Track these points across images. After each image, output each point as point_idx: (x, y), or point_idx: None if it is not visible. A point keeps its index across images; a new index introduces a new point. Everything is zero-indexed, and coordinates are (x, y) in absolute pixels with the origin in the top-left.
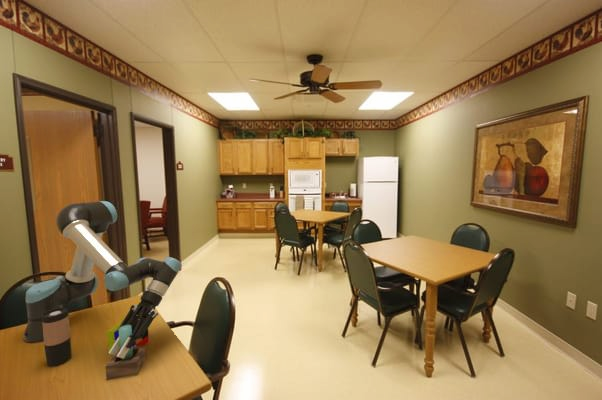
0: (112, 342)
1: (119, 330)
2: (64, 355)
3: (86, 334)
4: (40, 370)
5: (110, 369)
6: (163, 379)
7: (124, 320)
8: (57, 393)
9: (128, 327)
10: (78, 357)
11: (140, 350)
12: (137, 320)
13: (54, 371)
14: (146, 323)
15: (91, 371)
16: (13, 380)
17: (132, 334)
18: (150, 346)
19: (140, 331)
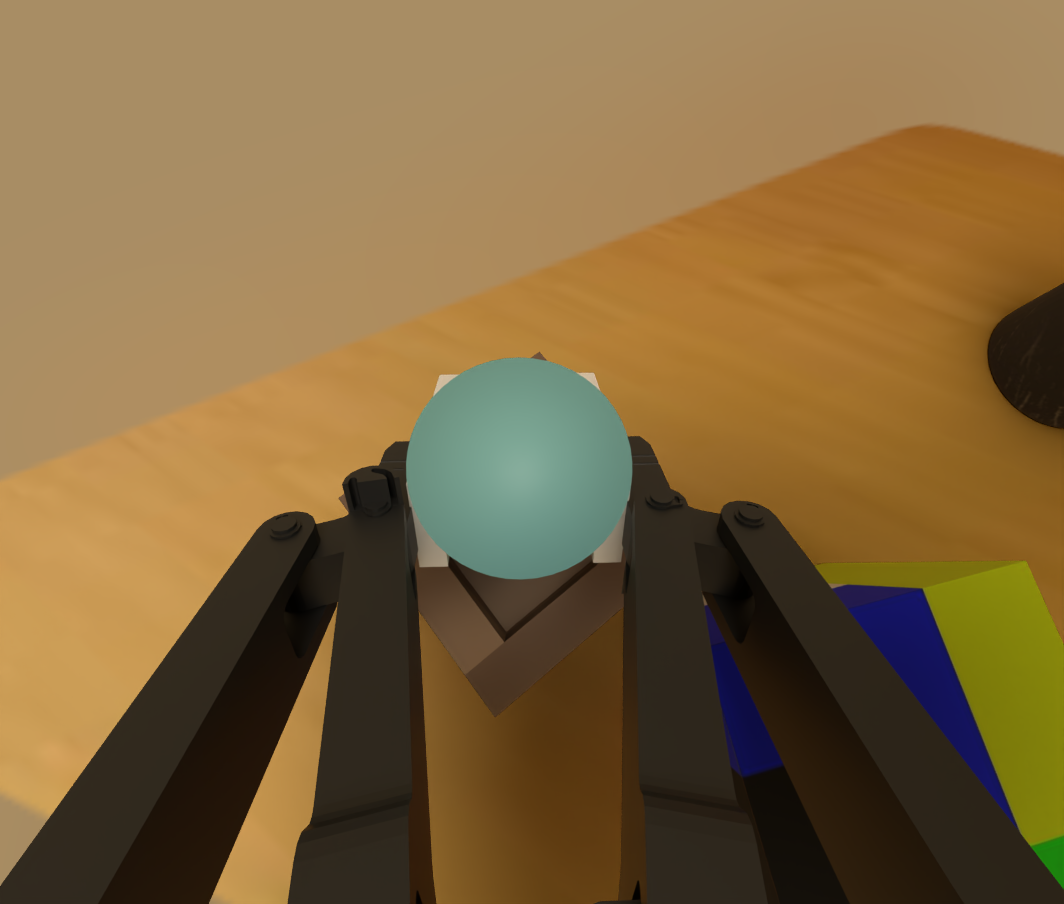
0: (854, 575)
1: (522, 360)
2: (1046, 345)
3: None
4: (1026, 271)
5: None
6: (143, 561)
7: (839, 643)
8: (682, 220)
9: (460, 499)
10: (984, 441)
11: (460, 624)
12: (623, 824)
13: (937, 300)
14: (117, 767)
15: (719, 397)
16: (1039, 175)
17: (384, 519)
18: (612, 811)
19: (223, 585)
